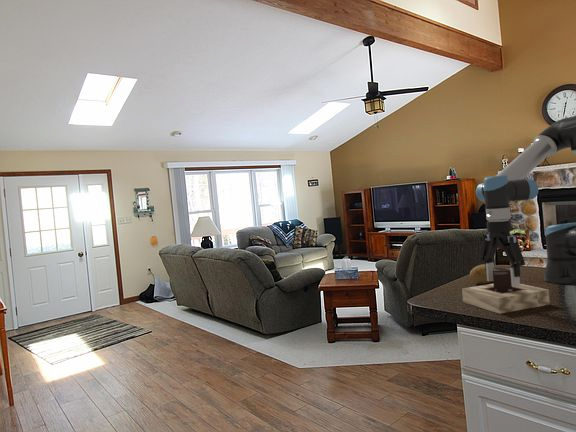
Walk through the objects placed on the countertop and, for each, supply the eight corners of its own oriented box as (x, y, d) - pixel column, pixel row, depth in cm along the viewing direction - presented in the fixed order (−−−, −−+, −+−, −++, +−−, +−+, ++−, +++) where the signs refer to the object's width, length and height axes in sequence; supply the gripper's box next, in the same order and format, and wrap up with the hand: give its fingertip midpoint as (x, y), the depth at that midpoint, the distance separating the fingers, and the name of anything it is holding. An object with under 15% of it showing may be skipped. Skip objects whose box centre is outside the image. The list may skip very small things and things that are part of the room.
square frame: (509, 294, 159) (508, 281, 159) (549, 304, 142) (548, 289, 142) (463, 302, 154) (461, 288, 154) (499, 313, 137) (498, 298, 137)
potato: (499, 280, 184) (497, 262, 184) (492, 287, 173) (491, 267, 172) (475, 279, 190) (473, 261, 190) (467, 286, 178) (466, 267, 178)
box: (494, 304, 148) (492, 270, 147) (494, 301, 152) (492, 268, 151) (514, 305, 145) (511, 270, 144) (514, 302, 149) (511, 267, 148)
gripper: (466, 220, 158) (471, 279, 158) (515, 222, 135) (520, 290, 136) (484, 218, 159) (488, 277, 160) (534, 220, 137) (539, 287, 138)
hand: (503, 283), depth 148 cm, fingers open, 11 cm apart
